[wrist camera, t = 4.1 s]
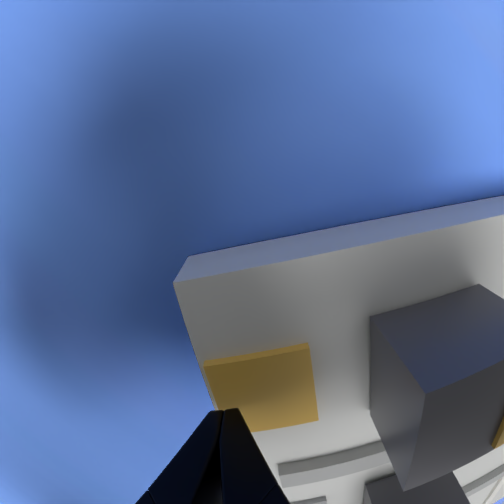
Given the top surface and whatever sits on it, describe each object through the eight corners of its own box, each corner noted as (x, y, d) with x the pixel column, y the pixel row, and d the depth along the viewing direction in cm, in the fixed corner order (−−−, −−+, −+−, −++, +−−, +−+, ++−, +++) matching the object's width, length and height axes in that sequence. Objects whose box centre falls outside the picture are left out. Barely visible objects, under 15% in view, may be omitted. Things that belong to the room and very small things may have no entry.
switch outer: (369, 414, 10) (405, 496, 6) (369, 316, 8) (429, 400, 5) (465, 380, 9) (515, 441, 6) (479, 283, 8) (556, 335, 5)
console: (288, 550, 18) (291, 579, 15) (188, 256, 11) (167, 291, 8) (497, 477, 17) (510, 498, 14) (575, 182, 10) (615, 191, 7)
